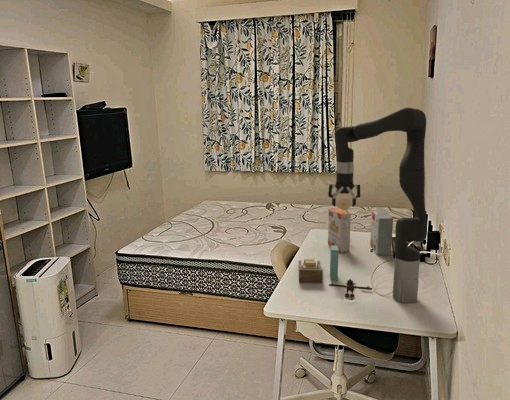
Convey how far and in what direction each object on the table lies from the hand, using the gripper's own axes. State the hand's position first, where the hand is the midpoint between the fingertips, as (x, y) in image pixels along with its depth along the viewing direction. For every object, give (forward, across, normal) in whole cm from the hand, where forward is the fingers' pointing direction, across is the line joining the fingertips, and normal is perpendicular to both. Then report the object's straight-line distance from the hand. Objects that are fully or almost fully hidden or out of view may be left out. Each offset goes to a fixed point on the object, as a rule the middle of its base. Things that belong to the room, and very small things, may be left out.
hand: (343, 206), depth 196 cm
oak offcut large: (+29, +15, +6) cm, 33 cm away
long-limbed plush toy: (+31, -1, +26) cm, 41 cm away
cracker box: (+30, -1, -28) cm, 41 cm away
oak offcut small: (+27, +15, +6) cm, 31 cm away
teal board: (+30, +5, +14) cm, 34 cm away
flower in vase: (+30, -4, -42) cm, 52 cm away
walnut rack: (+30, +15, +11) cm, 35 cm away
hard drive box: (+30, -23, -25) cm, 46 cm away
